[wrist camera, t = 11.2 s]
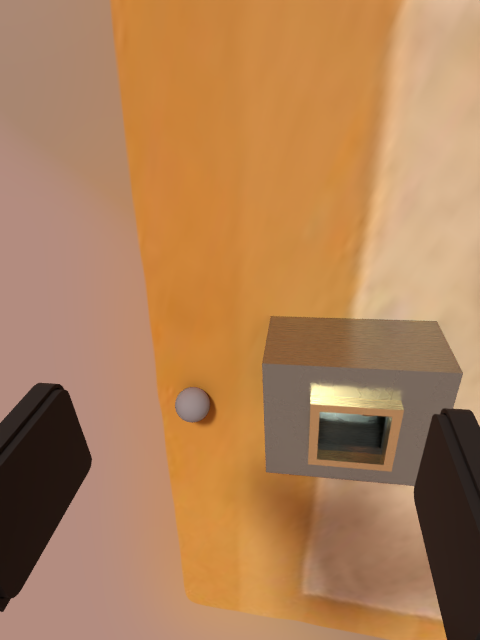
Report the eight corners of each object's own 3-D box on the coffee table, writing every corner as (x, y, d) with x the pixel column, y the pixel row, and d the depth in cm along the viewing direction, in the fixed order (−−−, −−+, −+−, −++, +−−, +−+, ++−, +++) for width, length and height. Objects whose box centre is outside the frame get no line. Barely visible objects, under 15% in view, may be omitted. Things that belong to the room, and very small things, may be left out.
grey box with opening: (437, 321, 39) (467, 383, 31) (413, 426, 46) (433, 498, 38) (270, 316, 41) (260, 372, 34) (272, 416, 48) (264, 481, 41)
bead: (165, 396, 45) (187, 376, 48) (170, 422, 47) (191, 401, 50) (193, 408, 43) (215, 386, 46) (197, 434, 45) (218, 412, 48)
